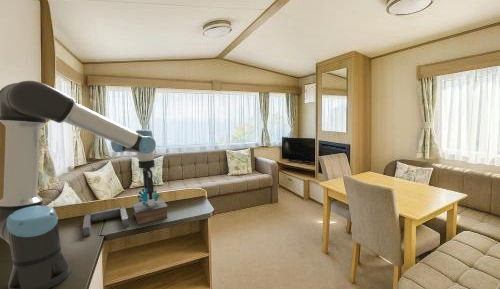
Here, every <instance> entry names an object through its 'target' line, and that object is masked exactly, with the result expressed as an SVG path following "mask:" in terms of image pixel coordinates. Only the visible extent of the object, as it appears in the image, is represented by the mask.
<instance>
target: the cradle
mask: <svg viewBox="0 0 500 289" xmlns="http://www.w3.org/2000/svg"><path fill="white" fill-rule="evenodd" d="M113 217H114V218H117V217H120V219H121V224H122V225H121V226H122V228H127V227H130V226H129V217H128V212H127V209H126V206H121V207H117V208H116V207H115V208H109V209H105V210H101V211H95V212H91V213H90V212H89V213H84V218H83V223H82V224H83V225H82V235H83V238H85V237H89V236H91V232H92V223H94V222H93V221H95V222H99V221H103V220H108V219H113ZM98 220H99V221H98Z"/></svg>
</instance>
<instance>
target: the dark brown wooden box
mask: <svg viewBox="0 0 500 289" xmlns="http://www.w3.org/2000/svg"><path fill="white" fill-rule="evenodd" d="M143 202H145V201H141V202H139V201H138V202H135V203H132V207H133V210H134V213H133V214H134V218H135V220H136V222H137V224H138V225H140V224H144V223H148V222H154V221H156V220H158V221H159V220H162V219H166V218H168V209H167V208H168V207H169V206H168V204H167V203H166V202H165V201H164V199H163V198H161V197H160V198H159V197H158V200H157V201H155V199H154V202H155V203H154V205H150V206H148V205H147V203H148V202H146V203H145V205H143V204H142V203H143Z"/></svg>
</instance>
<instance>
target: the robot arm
mask: <svg viewBox="0 0 500 289" xmlns="http://www.w3.org/2000/svg"><path fill="white" fill-rule="evenodd" d="M46 120H50V121H53V122H55V123H57V124H61V123H66V124H69V125H71V126H74V127H75V128H78V129H82V131H86V132H88V133H90V134H92V135H93V134H94V135H95V136H97V137H101V138H103V139H106V140H108V141H110V146H111V149H112V150H113V152H115V153H124V152H129V153H130V152H131V153H137V160H138V161H137V162H138V168H139V169H142V175H143V176H142V177H143V189H145V190H144V192H146V188H147V191H148V192H146V194H147V197H148V206H150V205H154V198H153V194H154V193H153V192H154V191H155V190H154V182H153V170H151V168H155V160H154V159H155V156H154V155H155V149H156V147H157V146H156V145H157V143H156V141H155V139H154V136H153V131H152V130H151V129H137V130H135V131H134V130H132V129H130V128H129V127H126V126H124V125H122V124H121V123H118V122H116V121H114V120H112V119H109V118H107V117H106V116H103V115H101V114H99V113H98V112H95V111H94V110H91V109H89V108H88V107H85V106H84V105H81V104H79V103H77V102H76V99H75V98H73V97H71V96H70V95H67V94H66V93H64V92H62V91H60V90H58V89H56V88H54V87H51V86H50V85H47V84H45V83H44V82H39V81H35V80H23V81H19V82H14V83H10V84H7V85H5V86H3V87H2V88H1V89H0V123H1V124H2V125H3V126H4V127H5V143H4V144H5V146H4V173H3V176H4V177H3V196H2V197H3V198H1V199H0V239H3V240H4V241H5V242H6V243H7V244H8V245H9V247H10V254H11V260H12V269H11V273H10V276H9V280H8V284H7V288H8V289H49V288H50V289H52V288H53V287H56V286H57V285H59V284H60V283H61V282H63V281H64V280H65V279H66V278H67V277H68V276H69V275H70V273H71V266H70V263H69V261H68V259H67V257H66V256H65V255H64V253H63V251H62V247H61V239H60V231H59V223H58V220H59V218H58V215H57V211H56V210H55V208H53V207H52V206H49V205H44V204H43V203H44V201H43V200H44V198H42V197H40V195H39V194H38V192H39V191H38V184H39V163H40V162H39V160H40V134H41V133H40V131H41V128H42V127H43V126H45V125H46ZM51 287H52V288H51Z"/></svg>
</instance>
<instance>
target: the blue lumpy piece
mask: <svg viewBox="0 0 500 289" xmlns="http://www.w3.org/2000/svg"><path fill="white" fill-rule="evenodd" d="M145 189H146V192H148V191H147V188H142V189H141V191H139V192H138V195H137V199H138V203H139V202H143V203H142V204H143V205H145V203H146V202H148V197H147V194H146V192H145ZM157 193H158V192H157V190H154V192H153V198H154V199H155V201H157V200H158V199H159V197H160V196H161V193H158V194H157ZM144 201H145V202H144ZM154 203H155V202H154ZM147 205H148V203H147Z"/></svg>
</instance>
